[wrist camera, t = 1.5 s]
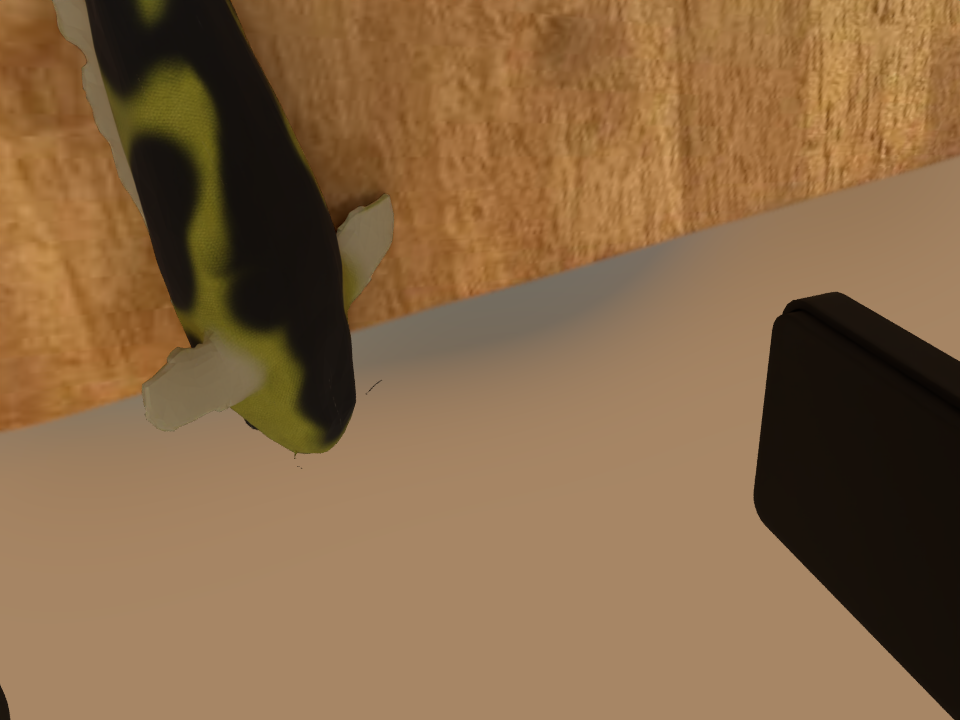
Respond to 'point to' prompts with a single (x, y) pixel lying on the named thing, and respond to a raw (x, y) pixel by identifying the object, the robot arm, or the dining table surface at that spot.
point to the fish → (228, 219)
